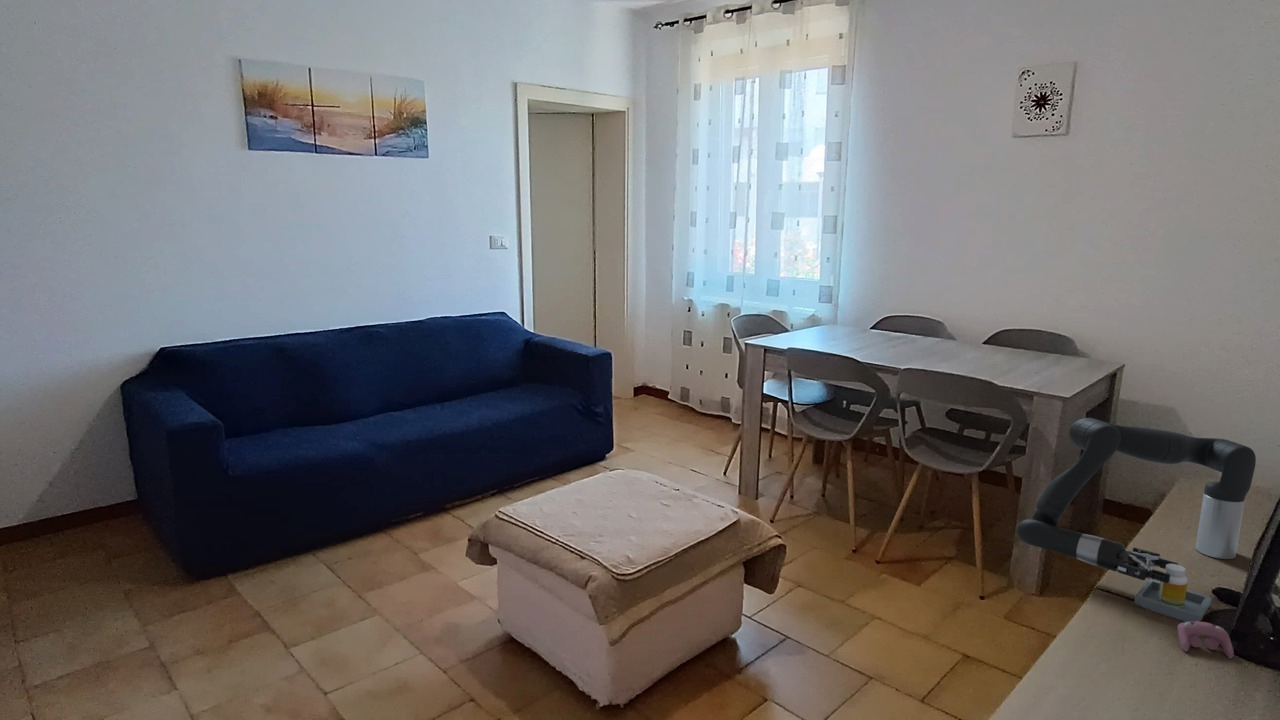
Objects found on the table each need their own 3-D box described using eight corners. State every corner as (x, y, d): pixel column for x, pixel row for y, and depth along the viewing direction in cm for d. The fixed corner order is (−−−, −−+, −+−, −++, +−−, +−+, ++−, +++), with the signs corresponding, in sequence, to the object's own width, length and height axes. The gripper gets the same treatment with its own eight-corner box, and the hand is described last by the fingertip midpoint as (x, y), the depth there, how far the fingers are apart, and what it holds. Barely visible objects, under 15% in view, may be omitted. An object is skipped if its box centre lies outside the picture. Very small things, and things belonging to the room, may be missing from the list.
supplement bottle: (1189, 609, 179) (1194, 573, 177) (1164, 608, 180) (1169, 572, 178) (1176, 597, 184) (1181, 562, 182) (1153, 596, 185) (1158, 561, 183)
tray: (1148, 587, 191) (1149, 578, 190) (1209, 606, 181) (1211, 597, 181) (1133, 604, 182) (1135, 595, 182) (1197, 625, 173) (1199, 616, 172)
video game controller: (1227, 657, 163) (1224, 624, 165) (1236, 659, 159) (1234, 626, 160) (1175, 649, 166) (1173, 617, 168) (1183, 651, 162) (1181, 618, 163)
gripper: (1092, 546, 187) (1168, 568, 175) (1109, 531, 196) (1183, 550, 185) (1089, 573, 188) (1164, 597, 176) (1106, 557, 198) (1178, 578, 186)
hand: (1173, 573), depth 181 cm, fingers open, 8 cm apart
